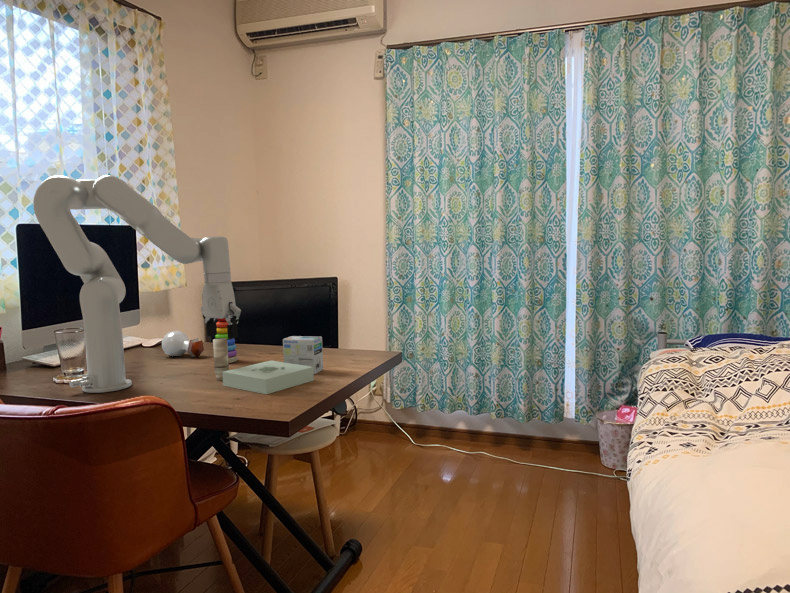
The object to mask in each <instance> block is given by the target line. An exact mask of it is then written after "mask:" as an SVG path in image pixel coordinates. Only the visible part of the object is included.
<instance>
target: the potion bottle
mask: <svg viewBox="0 0 790 593" xmlns="http://www.w3.org/2000/svg"><path fill="white" fill-rule="evenodd" d="M161 350H163V353H164V354H166V355H168V356H170V357H171V356H172V358H173V356H179V357H182V356H183V355H184V354H186V353H187V354H188V355H190V357H192V358H194V357H196V358H199V357H200V356H201V354H202V353H203V352H204V350H205V348H204V342H203V339H201V340H199V338H198V337H197V338H194V339H190V338H189V337H188V335H187V334H186V333H185V332H182V331H181V330H171V331H169V332H167V333H165V334H164V336H163V338H162V340H161Z"/></svg>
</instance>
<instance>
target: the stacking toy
mask: <svg viewBox="0 0 790 593" xmlns="http://www.w3.org/2000/svg"><path fill="white" fill-rule="evenodd" d="M215 320H217V322H216V327H217V335H215V336H214V337H215V338H214V339H217V338H227V346H228V364H232V363H236V362H237V361H238V360H239V356H238V355H237V354H238V351H237V350H236V349H237V345H236V344H235V343H236V340H235V339H236V338H231V339H229V338H228V333H227V325H229V324H228V323H227V321H226V319H225V318H222V319H218V318H216V319H215Z"/></svg>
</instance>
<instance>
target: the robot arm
mask: <svg viewBox="0 0 790 593" xmlns="http://www.w3.org/2000/svg"><path fill="white" fill-rule="evenodd" d="M99 209H101V210H105V209H107V210H109V211H110V212H111V213H112V214H113V213H114V215H115V216H117V217H118V218H120V219H121V220H122V221H124V222H125V223H126V224H127V225H128V226H130V227H132V229H134V230H135V231H136V232H137V233H138V234H140V235H141V236H142V237H145V238H146V239H147V240H148V241H149V242H151V244H153V245H155V247H157V248H158V249H160V250H161V251H162V252H163V253H164V254H166V255H168V256H169V257H170V258H172V259H173V260H174V261H176V262H178V263H180V264H184V265H189V264H192V263H193V264H194V263H197V262H202V270H203V281H204V284H203V286H202V306H201V307H200V312H201V314H202V318H203V319H204V324H205V327H206V336H207V337H209V338H210V337H215V335H217V328H218V327H217V326H216V323H217V322H216V320H217V319H216V318H218V319H222V318H225V319H226V321H227V323H228V324H229V325H227V333H228V338H229V339H231V338H234V339H236V338H238V337H239V334H238V332H239V330H238V324H239V320H240V319H241V317H240V316H241V313H242V310H241V308H239V307H238V306H237V305H236V297H235V293H234V287H233V284H232V275H231V273H232V272H231V263H230V249H229V241H228V239H227V237H225V236H207V237H203V238H199V237H198V238H197V237H190V236H189V235H187V234H186V233H185V232H184V231H183V230H181V229H180V228H178V227H177V226H176V225H175V224H173V222H171V221H170V220H168V218H166V216H164V214H163V213H162V212H161V210H160V209H159V208H158V207H156V206H155V205H154V204H153V203H151V202H150V201H149V200H148V199H146V198H145V197H144V196H142V195H141V194H139V193H138V192H137V191H136V190H135V189H133V188H132V187H131V186H130V185H129V184H128V183H127V182H126V181H125V180H123V179H121V178H119V177H117V176H116V175H110V174H105V175H102V176H100V177H98V178H97V179H74V178H72V177H68V176H65V175H53V176H49V177H47V178H46V179H44V180H43V181H41V183H40V185H39V186H38V187H37V189H36V191H35V194H34V197H33V210H34V214H35V217H36V220H37V222H38V224H39V225H40V227H41V229H42V231H43V232H44V234H45V235H46V238H47V239H48V241H49V242H50V244H51V246H52V247H53V249H54V251H55V254H57V256H58V258H59V259H60V261H61V263H62V265H63V268H65V270H66V271H67V272H68V273H70V274H72V275H74V276H79V277H80V279H81V280H82V283H83V285H82V286H81V289H80V292H79V305H80V309H81V314H82V321H83V322H82V323H83V331H84V332H83V334H84V342H85V343H84V344H85V355H86V356H85V357H86V358H85V359H86V373H84V374H83V376H82V377H81V378H79V379H78V378H77V379H72V380H69V382H68V384H69V387H70V388H75V387H79V388H80V387H81V389H82V391H83V392H84V393H89V394H90V393H92V394H94V393H95V394H96V393H97V394H98V393H99V394H100V393H109V392H110V393H111V392H115V391H121V390H124V389H127V388H129V387H131V386H132V385H133V383H132V380H131V379H130V378H129V379H128V378H127V377H126V368H125V367H126V366H125V365H126V364H125V353H124V349H125V348H124V340H123V339H124V337H123V336H124V335H123V325H122V324H123V323H122V322H123V321H122V315H121V311H120V304H121V303H122V302H123V300H124V299H125V297H126V293H127V292H126V291H127V290H126V286H125V283H124V281H123V279H122V277H121V276H120V273H119V272H118V271H117V269H116V267H115V266H114V264H113V262H112V260H111V259H110V257H109V255H108V254H107V252H106V251H105V249H104V248H102V247H101V246H100V245H99V244H97V243H95V242H92V241H90V240H89V239H88V237H87V236H86V234H85V232H84V231H83V229H82V227H81V226H80V224H79V222H78V221H77V220H76V218H75V217H74V215H73V214H72V213H73V212H72V210H77V211H78V210H79V211H80V210H99Z"/></svg>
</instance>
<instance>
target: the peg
mask: <svg viewBox="0 0 790 593" xmlns="http://www.w3.org/2000/svg"><path fill="white" fill-rule="evenodd" d="M212 345H213V347H212V349H213V362H214V363H213V365H214V366H213V367H214V374H215V380H216V381H223V373H222V372H224V371H228V370H230V369H229V367H230V366H229V364H230V363H228V346H227V338H217V339H216V338H214V339H212Z"/></svg>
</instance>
